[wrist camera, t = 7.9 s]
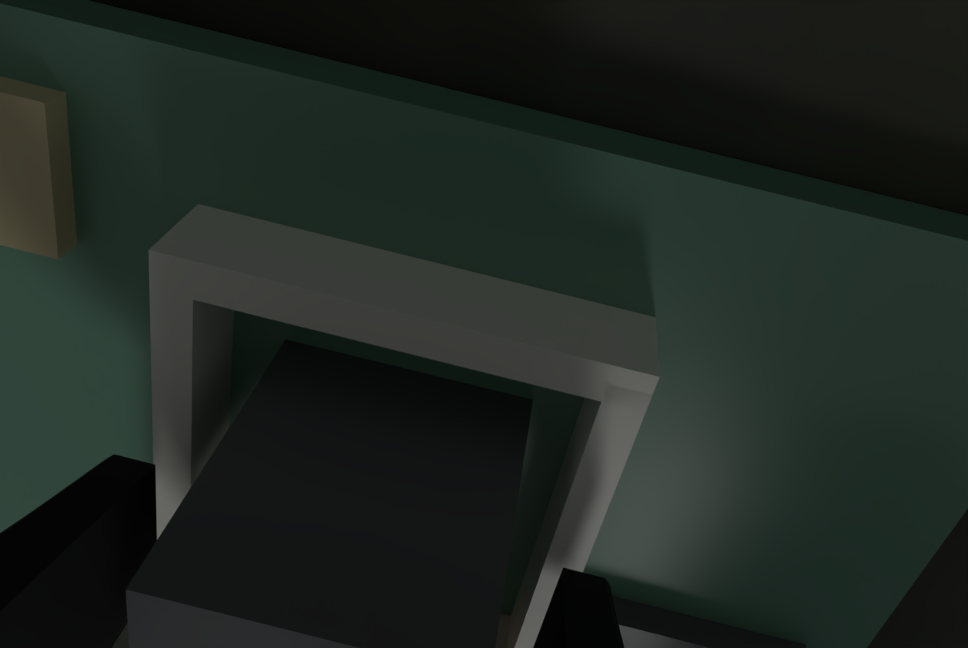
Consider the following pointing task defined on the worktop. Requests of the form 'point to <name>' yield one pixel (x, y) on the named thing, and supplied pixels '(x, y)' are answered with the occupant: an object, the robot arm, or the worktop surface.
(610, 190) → the board
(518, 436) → the plug
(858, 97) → the worktop surface
